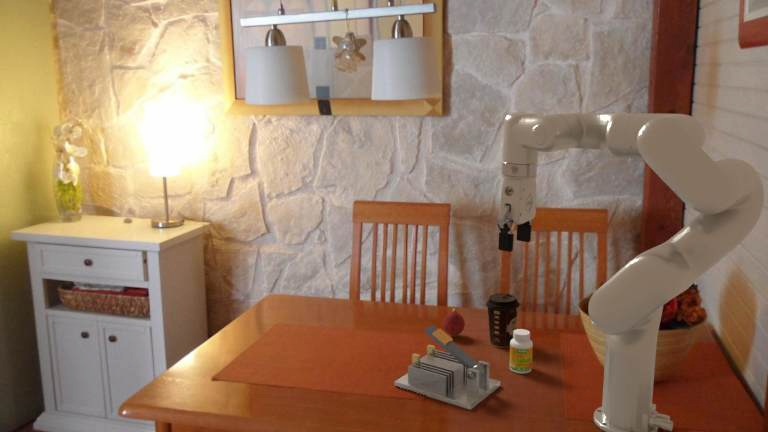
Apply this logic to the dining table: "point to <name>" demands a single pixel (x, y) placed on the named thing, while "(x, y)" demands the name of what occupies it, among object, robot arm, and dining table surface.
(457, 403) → the heatsink base
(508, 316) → the coffee cup
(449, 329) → the onion
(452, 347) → the strap
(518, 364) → the supplement bottle
